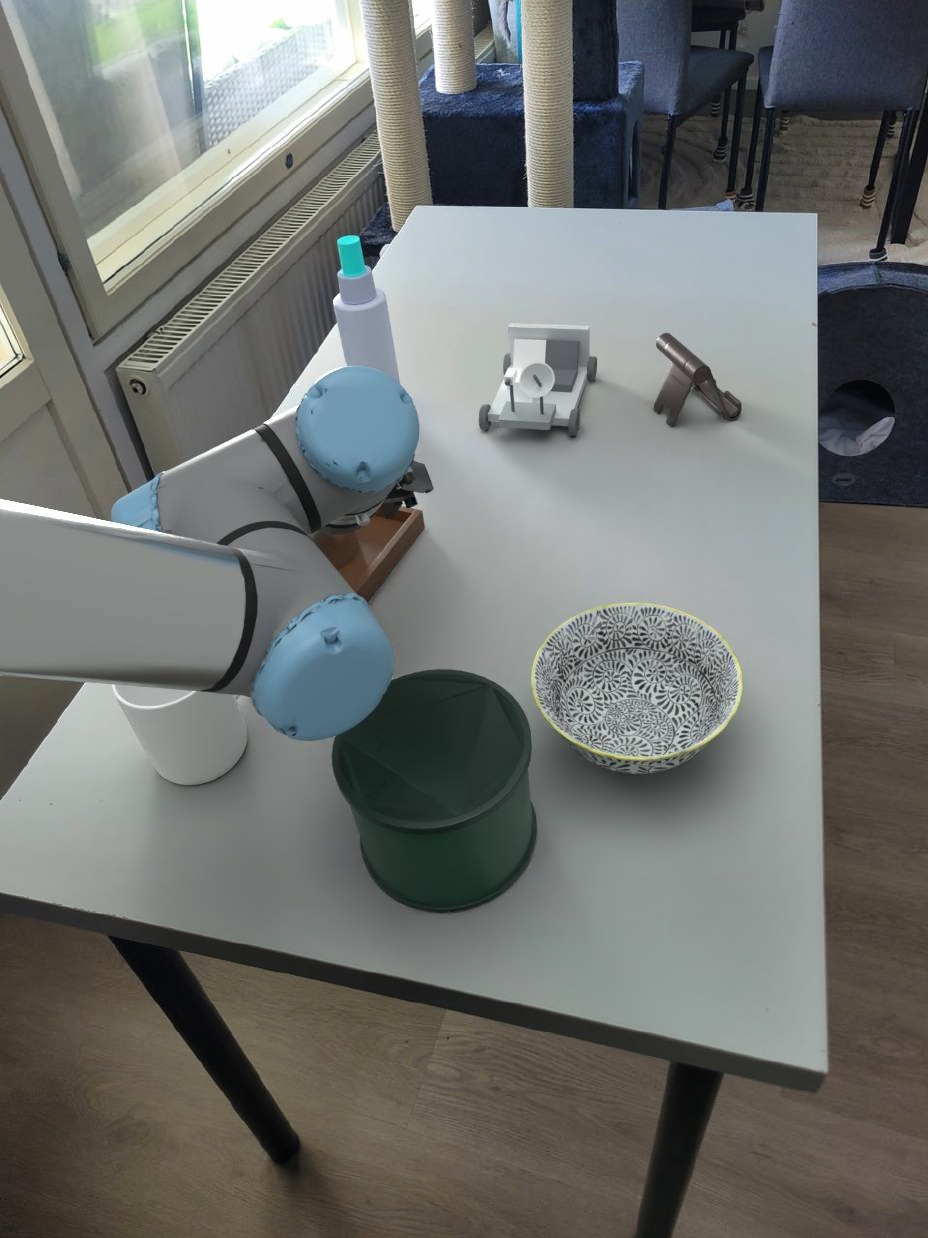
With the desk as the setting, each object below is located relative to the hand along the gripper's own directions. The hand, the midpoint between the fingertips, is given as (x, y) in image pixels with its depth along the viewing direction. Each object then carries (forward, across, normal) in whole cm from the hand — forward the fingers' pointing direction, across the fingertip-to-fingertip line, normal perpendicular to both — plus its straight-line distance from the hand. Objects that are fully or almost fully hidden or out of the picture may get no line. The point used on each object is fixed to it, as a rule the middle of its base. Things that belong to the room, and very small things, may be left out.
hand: (320, 527), depth 90 cm
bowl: (-19, +15, -27) cm, 37 cm away
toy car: (+16, +32, +7) cm, 37 cm away
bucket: (-20, -2, -28) cm, 34 cm away
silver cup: (+6, 0, -2) cm, 6 cm away
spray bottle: (+22, +15, +14) cm, 30 cm away
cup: (-6, -16, -15) cm, 23 cm away
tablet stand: (+8, +47, 0) cm, 48 cm away
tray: (+6, 0, -2) cm, 7 cm away
